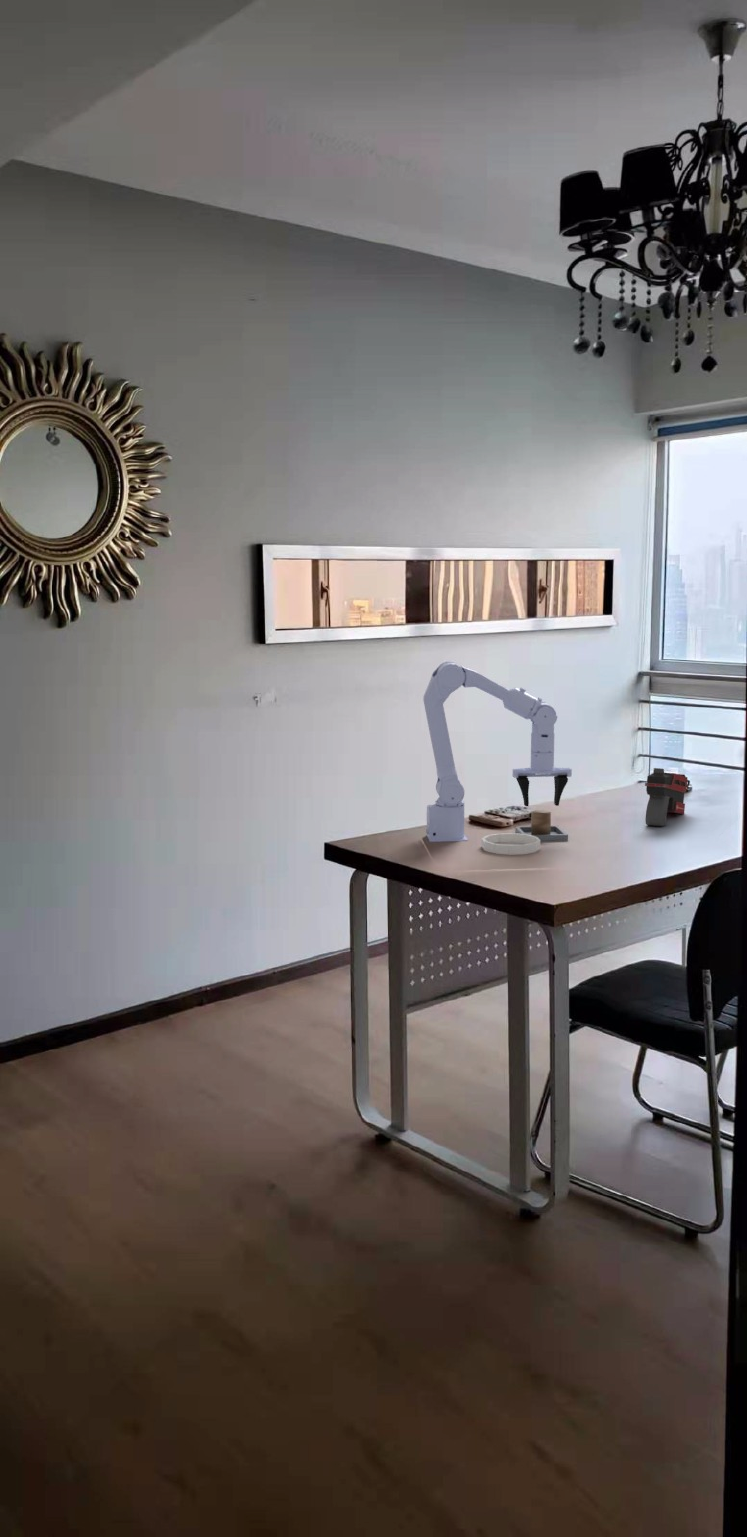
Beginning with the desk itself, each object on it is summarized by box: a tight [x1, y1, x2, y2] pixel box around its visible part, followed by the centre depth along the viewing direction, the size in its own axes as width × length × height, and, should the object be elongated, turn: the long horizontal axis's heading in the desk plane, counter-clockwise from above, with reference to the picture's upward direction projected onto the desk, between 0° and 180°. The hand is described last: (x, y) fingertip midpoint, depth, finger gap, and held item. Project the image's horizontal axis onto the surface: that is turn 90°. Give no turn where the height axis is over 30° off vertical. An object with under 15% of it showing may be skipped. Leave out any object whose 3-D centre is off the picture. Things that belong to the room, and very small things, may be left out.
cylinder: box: [530, 809, 552, 835], centre depth 299 cm, size 5×5×6 cm
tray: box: [514, 825, 569, 842], centre depth 300 cm, size 11×11×2 cm
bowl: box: [481, 832, 541, 856], centre depth 287 cm, size 14×14×2 cm
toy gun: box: [644, 767, 688, 827], centre depth 320 cm, size 5×24×15 cm, turn 152°
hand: (541, 805), depth 299 cm, fingers open, 7 cm apart
